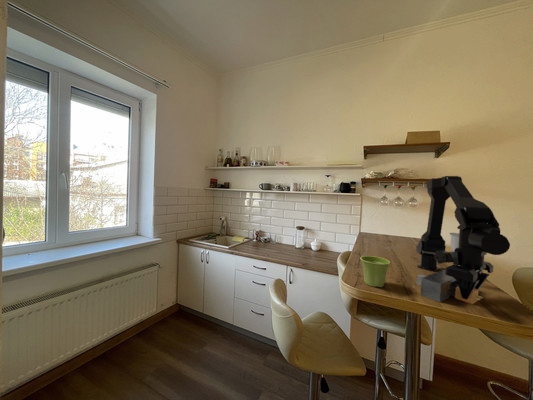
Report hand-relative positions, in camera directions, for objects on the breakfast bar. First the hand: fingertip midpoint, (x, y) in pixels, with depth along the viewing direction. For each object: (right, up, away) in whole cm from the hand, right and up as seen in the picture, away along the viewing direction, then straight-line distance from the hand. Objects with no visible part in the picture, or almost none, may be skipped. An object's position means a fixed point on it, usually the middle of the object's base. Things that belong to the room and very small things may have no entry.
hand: (468, 296), depth 64 cm
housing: (-3, -1, +5) cm, 6 cm away
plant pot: (-24, 0, +10) cm, 26 cm away
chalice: (+10, -1, +13) cm, 16 cm away
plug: (-3, -1, +5) cm, 6 cm away
